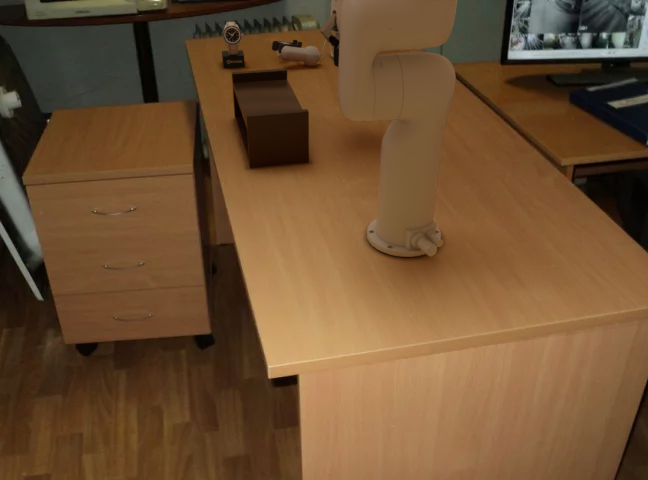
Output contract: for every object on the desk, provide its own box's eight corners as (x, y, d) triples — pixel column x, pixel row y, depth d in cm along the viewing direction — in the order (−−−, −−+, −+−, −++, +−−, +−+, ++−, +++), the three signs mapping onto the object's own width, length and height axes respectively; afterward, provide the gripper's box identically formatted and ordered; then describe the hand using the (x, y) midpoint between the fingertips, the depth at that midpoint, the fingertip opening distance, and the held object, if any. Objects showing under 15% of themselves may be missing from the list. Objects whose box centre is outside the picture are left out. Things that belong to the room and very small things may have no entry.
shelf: (308, 162, 148) (308, 111, 141) (249, 168, 145) (246, 116, 139) (287, 115, 167) (286, 68, 161) (234, 119, 165) (231, 72, 158)
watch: (224, 71, 190) (221, 28, 184) (222, 60, 196) (219, 18, 190) (245, 69, 191) (243, 27, 184) (243, 59, 197) (240, 17, 191)
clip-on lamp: (330, 62, 205) (269, 54, 198) (334, 39, 202) (273, 30, 195) (345, 72, 195) (282, 64, 188) (350, 48, 193) (286, 38, 185)
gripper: (328, -20, 133) (327, 76, 143) (406, -30, 141) (400, 62, 151) (308, -28, 138) (309, 65, 149) (383, -37, 146) (379, 52, 156)
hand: (354, 63), depth 150 cm, fingers closed on gaming mouse, 6 cm apart
